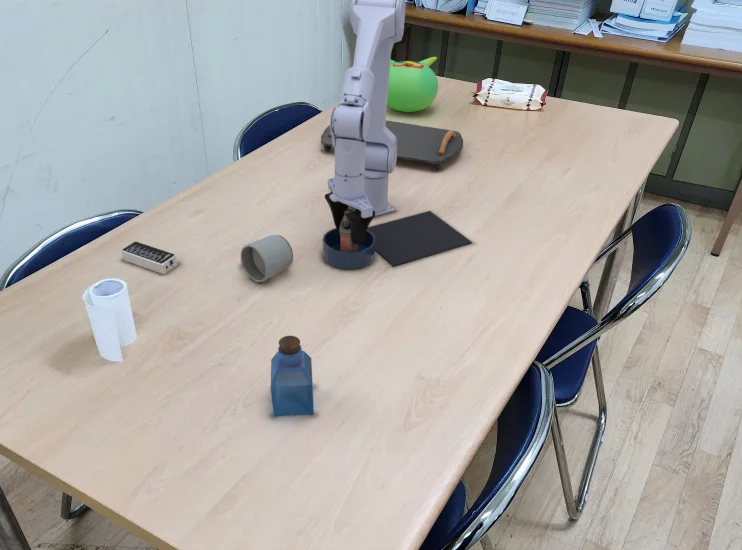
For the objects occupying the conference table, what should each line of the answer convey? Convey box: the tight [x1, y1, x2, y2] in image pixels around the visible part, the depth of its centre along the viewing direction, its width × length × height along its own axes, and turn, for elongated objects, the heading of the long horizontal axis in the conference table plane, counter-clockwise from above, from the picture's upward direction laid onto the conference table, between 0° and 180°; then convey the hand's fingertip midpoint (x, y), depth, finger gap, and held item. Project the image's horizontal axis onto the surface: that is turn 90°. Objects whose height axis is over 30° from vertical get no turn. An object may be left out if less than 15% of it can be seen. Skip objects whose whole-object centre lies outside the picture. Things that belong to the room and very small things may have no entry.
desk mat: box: [367, 210, 473, 268], centre depth 140 cm, size 16×20×1 cm
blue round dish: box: [321, 227, 376, 271], centre depth 133 cm, size 11×11×4 cm
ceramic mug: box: [240, 234, 294, 283], centre depth 127 cm, size 11×8×8 cm
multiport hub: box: [120, 240, 178, 275], centre depth 130 cm, size 4×11×2 cm, turn 62°
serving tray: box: [320, 120, 464, 172], centre depth 175 cm, size 39×23×6 cm, turn 69°
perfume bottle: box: [270, 335, 315, 417], centre depth 97 cm, size 6×6×12 cm
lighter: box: [340, 206, 358, 252], centre depth 131 cm, size 8×3×10 cm, turn 168°
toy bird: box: [387, 56, 439, 113], centre depth 194 cm, size 18×17×15 cm
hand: (349, 234), depth 131 cm, fingers closed on lighter, 7 cm apart
